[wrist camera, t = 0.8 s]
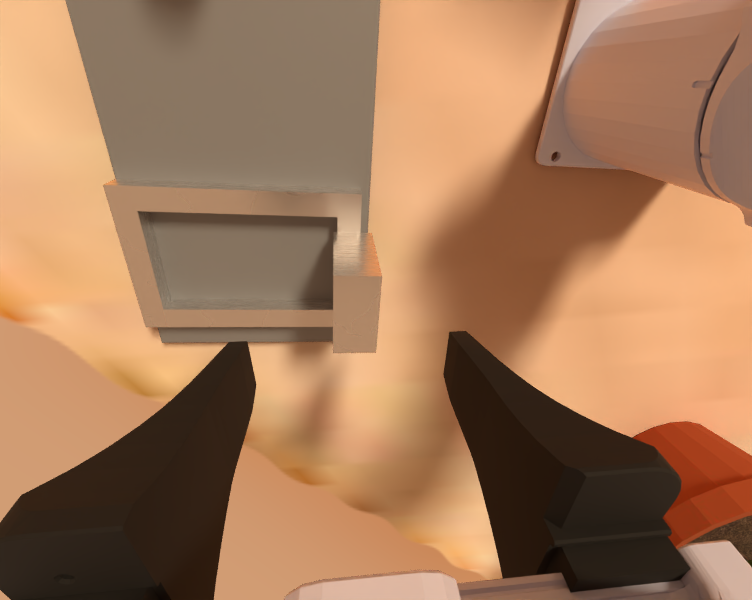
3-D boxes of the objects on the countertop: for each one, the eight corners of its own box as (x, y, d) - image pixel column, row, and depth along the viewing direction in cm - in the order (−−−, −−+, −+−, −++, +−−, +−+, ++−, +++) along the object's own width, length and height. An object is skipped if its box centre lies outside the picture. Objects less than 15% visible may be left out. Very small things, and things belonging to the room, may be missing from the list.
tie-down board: (396, -355, 12) (401, -389, 11) (360, 332, 26) (361, 341, 25) (-41, -446, 11) (-73, -491, 10) (167, 333, 24) (162, 342, 23)
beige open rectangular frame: (371, 188, 20) (385, 230, 15) (364, 315, 24) (373, 384, 19) (115, 178, 18) (27, 220, 13) (154, 315, 22) (98, 390, 17)
